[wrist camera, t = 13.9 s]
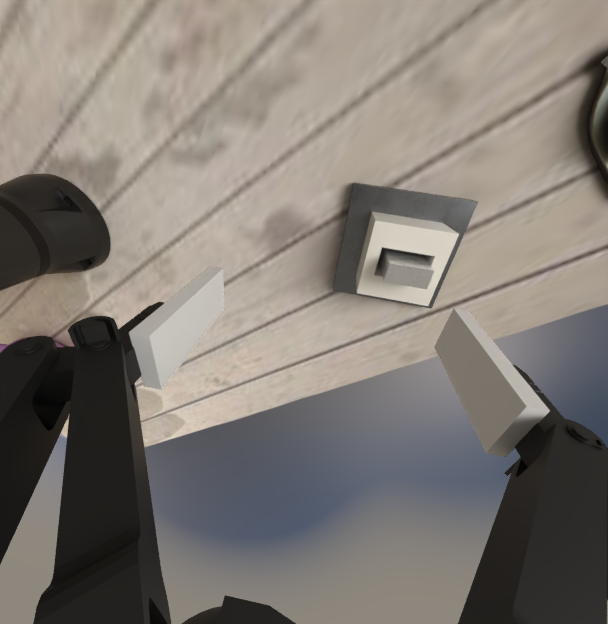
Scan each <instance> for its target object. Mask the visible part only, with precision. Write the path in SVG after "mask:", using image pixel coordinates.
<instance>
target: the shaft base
mask: <svg viewBox="0 0 608 624" xmlns="http://www.w3.org/2000/svg"><path fill="white" fill-rule="evenodd" d="M477 203H478V202H477V201H474V200H468V199H462V198H455V197H448V196H442V195H435V194H428V193H421V192H415V191H408V190H401V189H395V188H388V187H381V186H374V185H368V184H361V183H354V186H353V191H352V196H351V201H350V206H349V211H348V216H347V221H346V226H345V231H344V236H343V241H342V246H341V251H340V256H339V261H338V266H337V271H336V276H335V281H334V286H333V291H338V292H344V293H349V294H355V295H360V296H366V297H371V298H377V299H382V300H388V301H393V302H399V303H404V304H410V305H415V306H421V307H426V308H432V306H433V304H434V301H435V299H436V297H437V295H438V292H439V290H440V288H441V285H442V283H443V281H444V279H445V276H446V274H447V272H448V270H449V267H450V265H451V263H452V260H453V258H454V256H455V254H456V251H457V249H458V247H459V244H460V242H461V240H462V238H463V235H464V233H465V231H466V228H467V226H468V224H469V222H470V219H471V217H472V215H473V212H474V210H475V208H476V206H477ZM372 212H378V213H384V214H390V215H397V216H403V217H409V218H415V219H422V220H428V221H434V222H440V223H444V224H445V225H447V226H448V227H449V228H451V229H452V230H454V231H455V232H457V233H458V234H459V236H458V238H457V241H456V243H455V245H454V247H453V250H452V252H451V254H450V257H449V259H448V261H447V264H446V266H445V268H444V271H443V273H442V275H441V278H440V280H439V282H438V284H437V287H436V289H435V291H434V294H433V296H432V298H431V301H430V303H429V305H428V306H424V305H419V304H413V303H408V302H402V301H397V300H391V299H386V298H381V297H375V296H370V295H364V294H359V293H357V289H356V274H357V270H358V266H359V262H360V258H361V254H362V249H363V245H364V241H365V237H366V233H367V229H368V225H369V221H370V217H371V213H372ZM378 262H379V265H380V269H381V273H382V277H383V281H384V282H387V283H393V284H398V285H404V286H410V287H415V288H421V289H427V288H428V286H429V283H430V281H431V278H432V276H433V273H434V269H433V268H432V267H431V265H430V264H429V263H428V261H427V260H426V259H425V257H424V256H423V255H422V254H418V253H412V252H407V251H401V250H395V249H389V248H383V247H382V249H381V253H380V256H379V260H378Z"/></svg>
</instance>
